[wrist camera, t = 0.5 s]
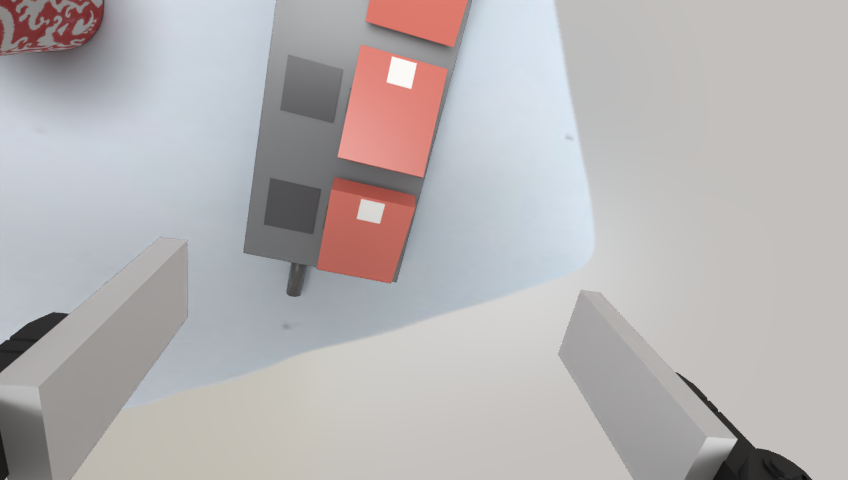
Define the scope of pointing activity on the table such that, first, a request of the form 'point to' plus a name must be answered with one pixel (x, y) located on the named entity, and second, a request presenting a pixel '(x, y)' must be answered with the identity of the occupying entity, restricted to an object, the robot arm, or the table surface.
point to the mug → (47, 24)
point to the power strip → (320, 124)
